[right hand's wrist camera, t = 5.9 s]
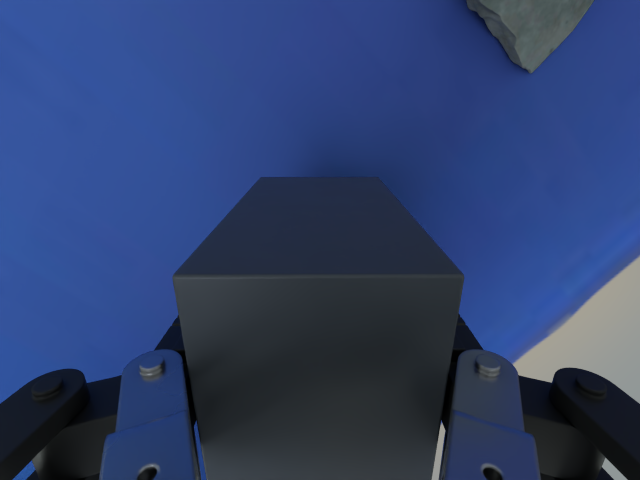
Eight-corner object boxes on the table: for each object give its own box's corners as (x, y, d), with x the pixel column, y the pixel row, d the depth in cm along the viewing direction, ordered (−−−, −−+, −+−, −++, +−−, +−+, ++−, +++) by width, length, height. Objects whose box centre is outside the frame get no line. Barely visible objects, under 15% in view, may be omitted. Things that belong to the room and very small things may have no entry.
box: (260, 176, 17) (169, 275, 7) (378, 176, 17) (466, 274, 7) (279, 483, 24) (250, 745, 14) (360, 484, 24) (389, 745, 14)
